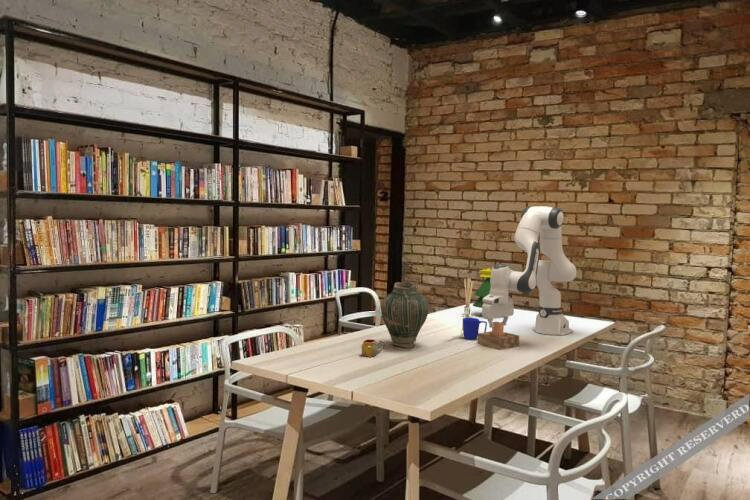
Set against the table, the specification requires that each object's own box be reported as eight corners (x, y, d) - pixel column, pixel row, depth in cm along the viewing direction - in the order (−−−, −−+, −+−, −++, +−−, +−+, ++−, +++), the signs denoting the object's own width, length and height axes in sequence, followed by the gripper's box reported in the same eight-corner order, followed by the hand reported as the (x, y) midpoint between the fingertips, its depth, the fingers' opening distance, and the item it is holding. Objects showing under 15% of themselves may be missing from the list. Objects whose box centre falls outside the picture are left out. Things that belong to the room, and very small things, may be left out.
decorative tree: (496, 320, 338) (499, 270, 335) (467, 316, 348) (469, 267, 346) (508, 315, 354) (510, 267, 352) (479, 311, 364) (481, 265, 362)
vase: (396, 338, 282) (398, 278, 280) (435, 345, 270) (437, 282, 268) (370, 346, 264) (372, 282, 262) (411, 354, 252) (413, 287, 249)
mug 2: (486, 341, 280) (487, 321, 279) (461, 339, 283) (462, 320, 282) (486, 337, 288) (487, 318, 288) (462, 336, 291) (463, 317, 290)
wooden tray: (495, 340, 284) (496, 330, 283) (518, 345, 273) (519, 335, 273) (477, 343, 275) (477, 333, 274) (500, 349, 264) (500, 339, 264)
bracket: (497, 343, 277) (498, 321, 276) (504, 345, 274) (505, 322, 273) (491, 344, 274) (492, 322, 273) (498, 346, 271) (499, 323, 270)
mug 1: (368, 358, 243) (368, 343, 242) (358, 354, 248) (358, 340, 247) (388, 354, 251) (389, 339, 250) (378, 350, 256) (379, 336, 255)
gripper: (507, 295, 281) (505, 323, 282) (480, 298, 268) (479, 327, 269) (517, 297, 276) (516, 325, 277) (490, 300, 263) (489, 330, 264)
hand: (497, 326), depth 273 cm, fingers open, 8 cm apart
